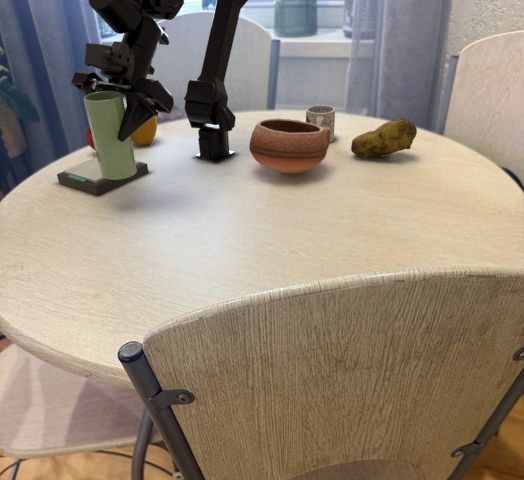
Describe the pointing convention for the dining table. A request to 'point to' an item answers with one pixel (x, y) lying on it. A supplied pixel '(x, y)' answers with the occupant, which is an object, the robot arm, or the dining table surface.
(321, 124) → the mug
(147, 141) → the apple
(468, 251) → the dining table surface
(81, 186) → the scale
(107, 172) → the tumbler
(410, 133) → the potato
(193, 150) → the dining table surface
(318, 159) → the bowl
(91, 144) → the onion
